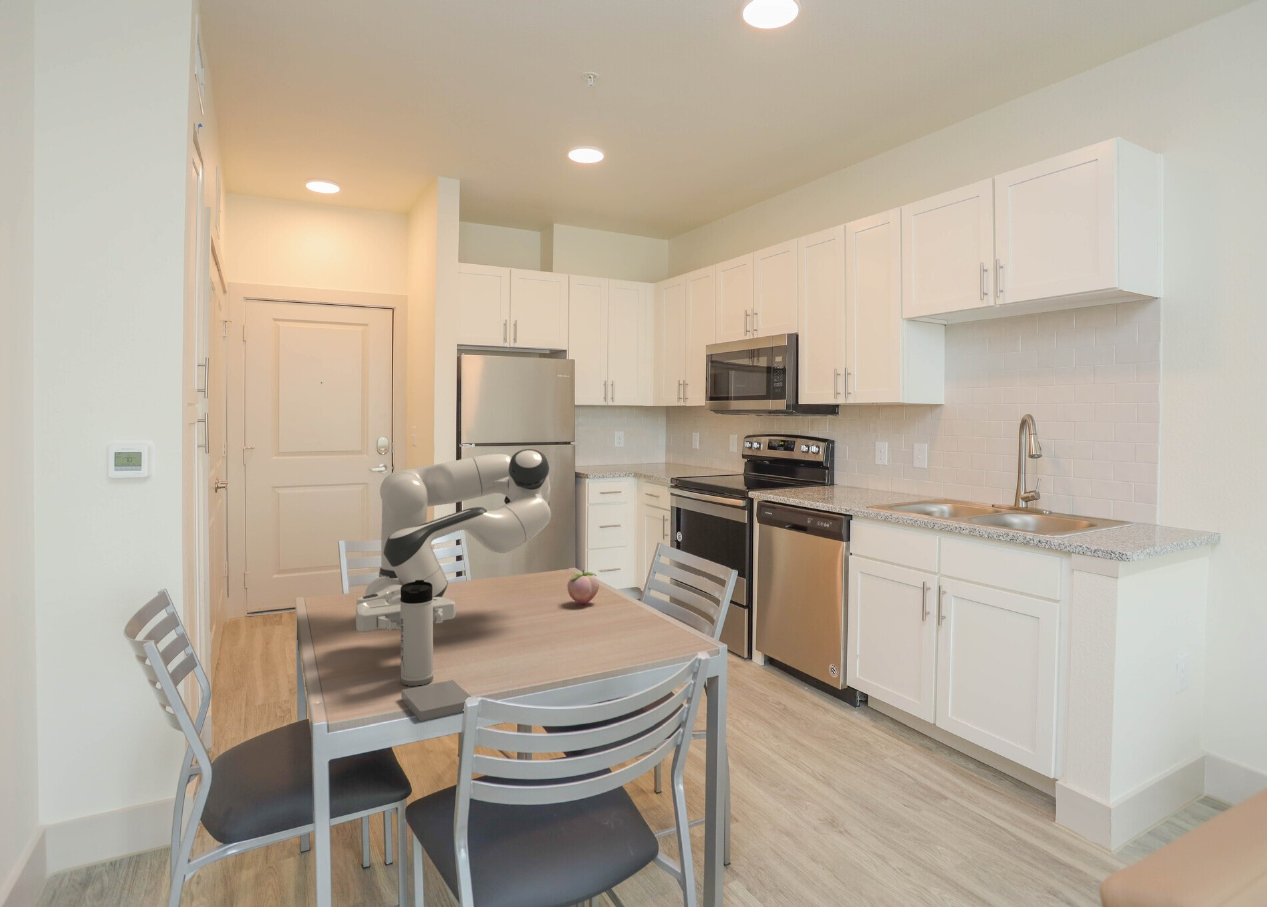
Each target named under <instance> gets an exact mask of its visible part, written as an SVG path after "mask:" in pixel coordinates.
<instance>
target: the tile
mask: <svg viewBox="0 0 1267 907" xmlns="http://www.w3.org/2000/svg"><path fill="white" fill-rule="evenodd" d="M400 693H401V698H402V699H401V700H402V702H403V701H404V702H405V703H406V704H405V703H404V702H403V703H404V704H405V705H406V707H407V708H408V709H409V708H410V709H411V710H410V709H409V710H410V712H412V713H413V715H414V716H415V717H416V718H417V719H418V721H419V722H425V721H430V720H433V719H438V718H439V719H440V718H442V717H443V718H444V717H448V716H451V715H456V714H462V713H464V712H463V709H464V703H465V700H466V699H467V698H468V697H472V696H471V695H470V694H469V693H468V692H467V691H465V689H463V688H462V687H461V685H459V684H458V683H457V682H456V681H454V680H453V679H452V680H451V679H450V680H445V681H440V682H437V683H436V682H435V683H431V684H429V683H428V684H426V685H422V686H413V687H410V688H404V689H401V692H400Z"/></svg>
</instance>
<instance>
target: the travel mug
mask: <svg viewBox="0 0 1267 907" xmlns="http://www.w3.org/2000/svg"><path fill="white" fill-rule="evenodd" d="M432 601H433V596H432V584H431V583H429V582H424V580H415V582H410V583H406V584H404V585H402V586H401V601H400V603H401V605H400V614H401V629H400V682H401V684H402V685H404V686H406V685H408V686H407V687H419V686H418V685H422V686H424V685H425V684H426V685H428V684H429V683H431V682H432V681H433V679H434V622H433V602H432ZM427 683H428V684H427Z"/></svg>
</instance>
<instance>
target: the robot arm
mask: <svg viewBox="0 0 1267 907" xmlns="http://www.w3.org/2000/svg"><path fill="white" fill-rule="evenodd" d="M549 471H550V466H549V461H548V459H547V457H546V455H545V454H544V453H542V452H541V451H540V450H537V449H532V448H526V449H522V450H519V451H516V452H515V453H514V454H513V455H512V456H510V455H508V454H507V453H506V454H505V453H492V454H484V455H476V456H471V457H466V458H461V459H458V460H457V459H456V460H453V461H449V462H448V461H446V462H442V463H437V464H436V463H435V464H430V465H425V466H424V465H423V466H420V467H418V466H417V467H413V468H407V469H404V470H403V469H402V470H397V471H394V472H391V473H390V474H388V475H386V477H385V478H384V479H382V482H381V484H380V488H379V495H380V499H381V535H380V536H381V538H380V540H381V541H380V542H381V544H380V546H381V547H380V549H381V550H380V553H381V554H380V555H381V556H380V557H381V558H380V559H381V561H380V563H381V566H380V568H379V572H378V577H377V578H374V579H373V580H371V581H370V583H369V584H368V585H367V586H366V588H365V592H364V596H360V597H358V598H357V600H356V606H355V628H356V630H357V632H359V633H365V632H373V631H379V630H387V631H393V630H401V614H400V605H401V603H400V601H401V586H402V585H404V584H406V583H410V582H415V580H424V582H429V583H431V584H432V596H433V601H432V602H433V624H441V623H444V621H446V620H452V619H454V618H455V617H456V615H457V614H456V613H457V612H456V611H457V608H456V606H457V604H456V602H455V601H454V600H452V599H451V598H450V599H449V598H447V597H444V594H445V592H446V590H447V589H448V584H449V581H448V579H447V577H446V575H445V573H444V571H443V568H442V566H441V564H440V562H439V561H438V558H437V556H436V554H435V552H434V550H433V547H432V542H433V541H434V540H437V539H439V538H442V537H445V536H448V535H451V534H453V533H455V532H458V531H462V530H463V531H466V532H467V533H468V534H469V535H471V536H472V537H473V538H474V539H475V540H476V541H477V543H479V544H480V545H481V546H482V547H484V548H485V549H487V550H489V551H490V552H492V553H496V554H507V553H510V552H513V551H515V550H517V549H518V548H519V547H522V546H523V545H524V544H526V543H527V542H529V541H531V539H534V537H535V536H537V535H538V534H539V533H540V532H541V531H543V530H544V529H545V528H546V527H547V526H548V524H550V522H551V519H552V512H551V509H550V497H551V484H550V483H551V482H550V474H549V473H550V472H549ZM492 494H493V495H494V494H502V495H504V496H505V497H504V500H503V502H504V503H505V504H504V505H502V506H500V507H499V508H496V509H494V510H487V509H486V508H485V507H482V506H479V507H478V506H477V507H476V506H475V507H470V508H465V509H463V510H459V511H456V512H453V513H450V514H448V515H445V516H442V517H439V518H436V519H434V520H430V521H427V518H428V517H427V514H428V508H429V507H435V506H442V505H448V504H449V505H451V504H455V503H460V502H464V501H469V500H472V499H476V498H482V497H485V496H488V495H492Z"/></svg>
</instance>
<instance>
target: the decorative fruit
mask: <svg viewBox="0 0 1267 907" xmlns="http://www.w3.org/2000/svg"><path fill="white" fill-rule="evenodd" d="M584 571H585V570H584V569H582V573H577V574H574V575H573V576H571V577H570V579H568V582H567V592H568V594H569V596H570V598H571V599H572V600H574V601H575V602H576V603H578V604H581V605H585V604H587V603H589V602H590V601H592V599H594V598H595V596H596V595H597V594H598V591H599V588H600V583H599V581H598V579H597V578H596V577H597V574H596V573H594V572H591V571H586V572H584Z"/></svg>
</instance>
